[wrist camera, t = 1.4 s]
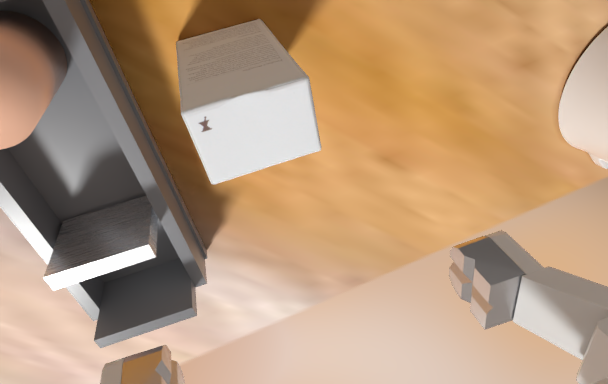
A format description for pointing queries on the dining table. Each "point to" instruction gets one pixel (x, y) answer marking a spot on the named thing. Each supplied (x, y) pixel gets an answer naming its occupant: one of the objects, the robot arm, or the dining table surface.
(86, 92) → the pusher lane
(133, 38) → the dining table surface
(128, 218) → the plate
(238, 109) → the skincare box
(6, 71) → the brown egg
